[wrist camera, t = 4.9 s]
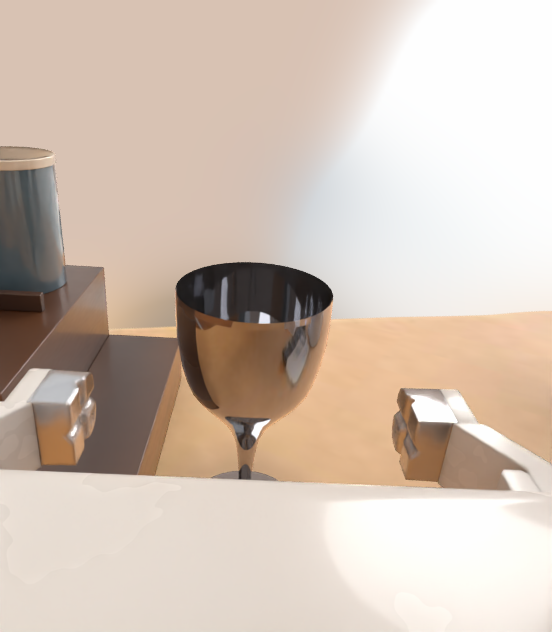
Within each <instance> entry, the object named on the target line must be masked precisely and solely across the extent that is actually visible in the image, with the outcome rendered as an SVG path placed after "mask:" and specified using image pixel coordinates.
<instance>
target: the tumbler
mask: <svg viewBox="0 0 552 632" xmlns="http://www.w3.org/2000/svg"><path fill="white" fill-rule="evenodd" d="M55 163H56V158H55V154H54V153H53V152H52V151H48V150H45V149H39V148H30V147H11V146H7V147H6V146H1V147H0V290H12V291H30V292H43V294H45V293H49V292H52V291H54V290H57V289H59V288H60V287H62V286H63V285H64V284H65V283H66V281H67V275H66V266H65V256H64V247H63V238H62V229H61V219H60V211H59V201H58V191H57V184H56V183H57V182H56V173H55Z"/></svg>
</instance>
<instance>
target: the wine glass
mask: <svg viewBox="0 0 552 632" xmlns="http://www.w3.org/2000/svg"><path fill="white" fill-rule="evenodd" d="M332 304H333V294H332V291H331V289H330V288H329V287H328V285H327V284H325V283H324V282H323V281H321V280H320V279H318V278H317V277H315V276H313V275H311V274H308V273H306V272H303V271H300V270H297V269H293V268H289V267H285V266H280V265H274V264H266V263H251V262H241V263H240V262H237V263H224V264H217V265H211V266H207V267H203V268H200V269H197V270H194V271H192V272H190V273H188V274H186V275H185V276H184V277H182V278H181V279H180V280H179V281H178V283H177V285H176V288H175V314H176V330H177V341H178V346H179V352H180V357H181V362H182V366H183V369H184V373H185V376H186V379H187V382H188V384H189V386H190V388H191V390H192V393H193V395H194V396H195V397H196V398H197V400H198V401H199V402H200V403H201V404H202V405H203V406H204V408H206V409H207V410H208V411H209V412H211V413H212V414H213V415H214V416H216V417H217V418H218V419H219V420H220V421H222V422H223V423H224V424H225V425H226V426H227V427H228V428H229V429H230V430H231V432H232V434H233V436H234V438H235V441H236V447H237V455H238V469H239V471H232V472H226V473H222V474H219V475H216V476H214V477H212V478H217V479H241V480H265V481H278V480H276V479H275V478H273V477H270V476H268V475H265V474H262V473H258V472H252V467H253V461H254V456H255V452H256V447H257V444H258V441H259V439H260V437H261V436H262V434H263V433H264V432H265V431H266V430H267V429H268V428H269V427H270V426H272V425H273V424H275V423H276V422H278V421H279V420H281V419H282V418H284V417H285V416H287V415H288V414H289V413H291V412H292V411H293V410H295V409H296V408H297V407H298V406H299V405H300V404H301V403H302V402H303V401H304V400H305V398H306V397H307V395H308V393H309V392H310V390H311V388H312V386H313V384H314V381H315V379H316V376H317V374H318V371H319V369H320V366H321V363H322V360H323V356H324V353H325V349H326V346H327V340H328V334H329V329H330V322H331V313H332Z"/></svg>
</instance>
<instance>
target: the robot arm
mask: <svg viewBox="0 0 552 632" xmlns="http://www.w3.org/2000/svg"><path fill="white" fill-rule="evenodd" d="M93 388H94V381H93V375H92V373H91V372H84V371H70V370H55V369H53V370H52V369H38V368H33V369H30V370H28V372H27V373H26V374H25V376H24V377H23V378H22V379H21V381H20V382H19V383H18V384H17V386H16V387H15V388H14V389H13V391H12V392H11V393H10V394H9V396H8V397H7V398H6V399H5V401H4V402H3V401H0V632H552V464H551V463H549V462H547V461H546V460H544V459H542V458H541V457H539V456H537V455H536V454H534V453H532V452H530V451H529V450H527V449H525V448H524V447H522V446H520V445H519V444H517V443H515V442H513V441H512V440H510V439H508V438H507V437H505V436H503V435H502V434H500V433H498V432H496V431H495V430H493V429H491V428H490V427H488V426H486V425H481V424H479V423H478V421H477V420H476V418H475V416H474V415H473V413H472V412H471V410H470V408H469V407H468V405H467V403H466V402H465V400H464V399H463V397H462V395H461V394H460V392H459V391H458V390H455V389H406V388H401V389H400V392H399V394H398V399H397V403H398V406H399V409H400V411H399V412H397V413H396V414H395V415H394V419H393V425H392V438H393V444H394V447H395V450H396V451H397V452H398V453H400V454H401V456H400V461H399V462H400V465H401V468H402V471H403V474H404V476H405V479H406V480H419V481H433V482H438V484H439V485H440V486H442V487H443V488H432V487H408V486H384V485H360V484H336V483H312V482H289V481H265V480H241V479H217V478H194V477H170V476H146V475H123V474H99V473H75V472H51V471H36V470H37V469H38V468H40V467H41V465H76V464H77V462H78V460H79V458H80V456H81V454H82V452H83V450H84V448H85V447H84V440H85V439H87V438H88V437H90V435H91V433H92V431H93V428H94V424H95V419H96V401H95V400H94V399H93V398H92V397H91V396H90V394H91V392H92V390H93Z"/></svg>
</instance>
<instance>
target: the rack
mask: <svg viewBox="0 0 552 632" xmlns="http://www.w3.org/2000/svg"><path fill="white" fill-rule="evenodd" d="M65 266H66V275H67V281H66V283H65V284H64V285H63V286H62V287H60V288H59V289H57V290H54V291H52V292H49V293H45V294H43V292H30V291H12V290H0V401H3V402H4V401H5V399H6V398H7V397H8V396H9V394H10V393H11V392H12V391H13V389H14V388H15V387H16V386H17V384H18V383H19V382H20V381H21V379H22V378H23V377H24V376H25V374H26V373H27V372H28V370H30V369H33V368H38V369H52V370H53V369H55V370H70V371H84V372H91V373H92V375H93V381H94V388H93V390H92V392H91V394H90V396H91V397H92V398H93V399H94V400H95V401H96V419H95V424H94V428H93V431H92V433H91V435H90V437H88V438H87V439H85V440H84V447H85V448H84V450H83V452H82V454H81V456H80V458H79V460H78V462H77V464H76V465H41V467H40V468H38V469H37V470H36V471H51V472H75V473H99V474H123V475H146V476H155V472H156V469H157V465H158V461H159V458H160V454H161V450H162V447H163V443H164V439H165V436H166V432H167V428H168V425H169V421H170V417H171V414H172V410H173V406H174V403H175V399H176V395H177V392H178V388H179V384H180V381H181V357H180V352H179V346H178V341H177V338H164V337H145V336H126V335H109V330H108V318H107V306H106V305H107V304H106V291H105V277H104V268H103V267H90V266H71V265H65Z"/></svg>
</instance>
